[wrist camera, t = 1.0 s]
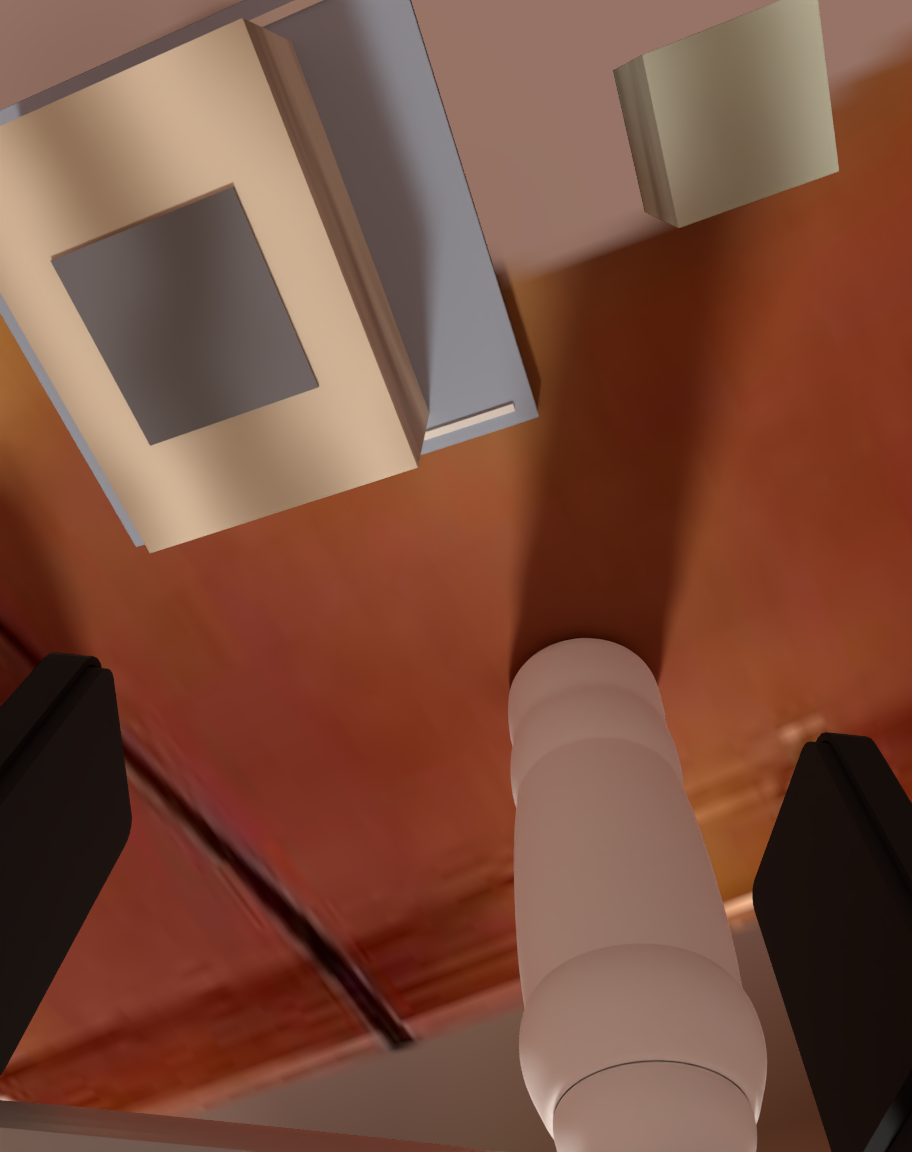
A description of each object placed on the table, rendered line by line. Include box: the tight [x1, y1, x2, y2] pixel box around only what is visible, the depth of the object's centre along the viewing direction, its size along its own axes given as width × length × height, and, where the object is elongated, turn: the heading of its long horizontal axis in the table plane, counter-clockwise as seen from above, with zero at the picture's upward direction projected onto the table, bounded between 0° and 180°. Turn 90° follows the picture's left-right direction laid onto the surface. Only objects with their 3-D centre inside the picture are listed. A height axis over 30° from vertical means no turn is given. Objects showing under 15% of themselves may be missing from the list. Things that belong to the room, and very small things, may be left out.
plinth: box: [0, 18, 430, 553], centre depth 28 cm, size 10×13×6 cm
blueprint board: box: [0, 0, 539, 547], centre depth 31 cm, size 18×16×1 cm
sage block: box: [613, 0, 839, 228], centre depth 26 cm, size 5×5×6 cm
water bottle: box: [508, 638, 767, 1152], centre depth 29 cm, size 7×7×25 cm
